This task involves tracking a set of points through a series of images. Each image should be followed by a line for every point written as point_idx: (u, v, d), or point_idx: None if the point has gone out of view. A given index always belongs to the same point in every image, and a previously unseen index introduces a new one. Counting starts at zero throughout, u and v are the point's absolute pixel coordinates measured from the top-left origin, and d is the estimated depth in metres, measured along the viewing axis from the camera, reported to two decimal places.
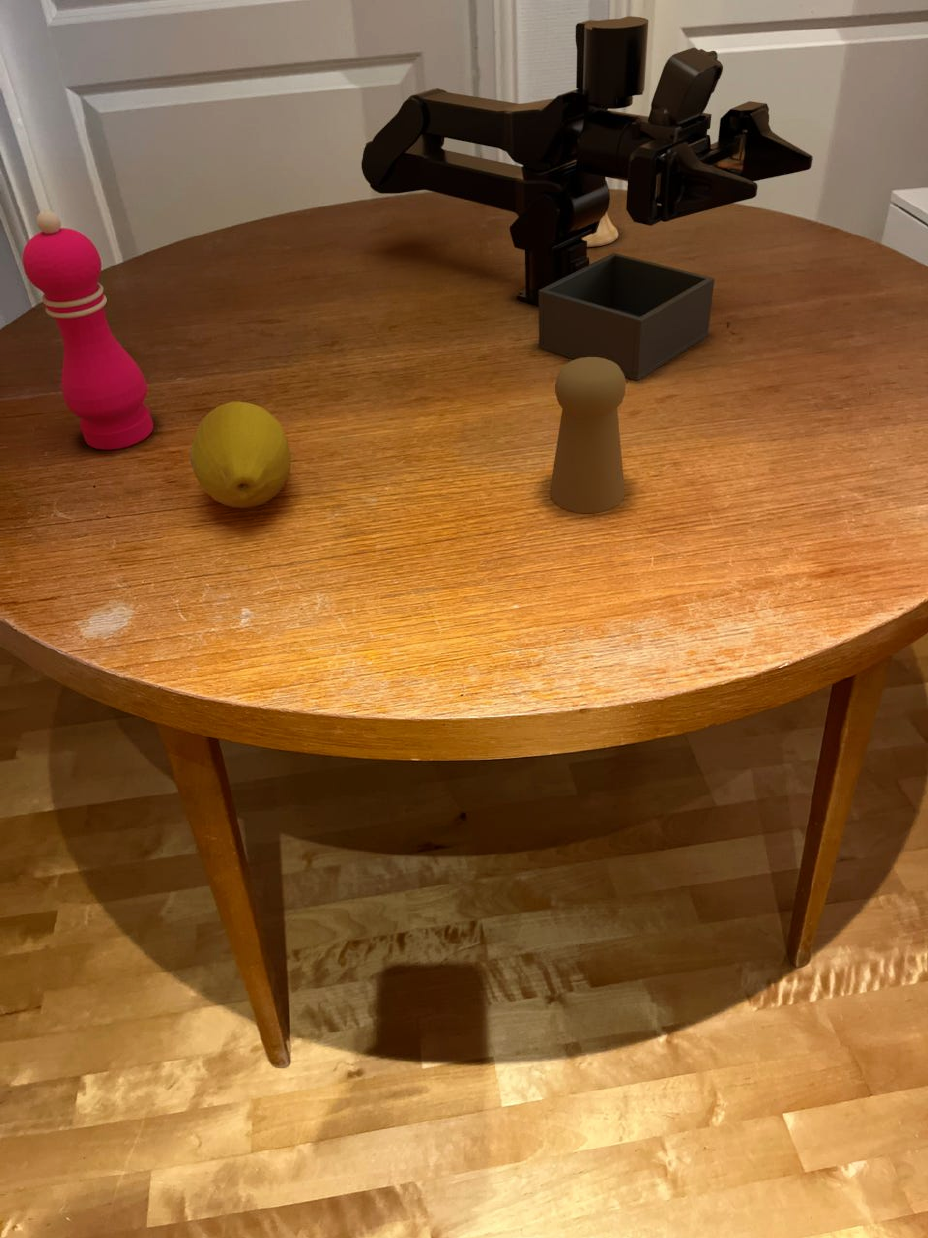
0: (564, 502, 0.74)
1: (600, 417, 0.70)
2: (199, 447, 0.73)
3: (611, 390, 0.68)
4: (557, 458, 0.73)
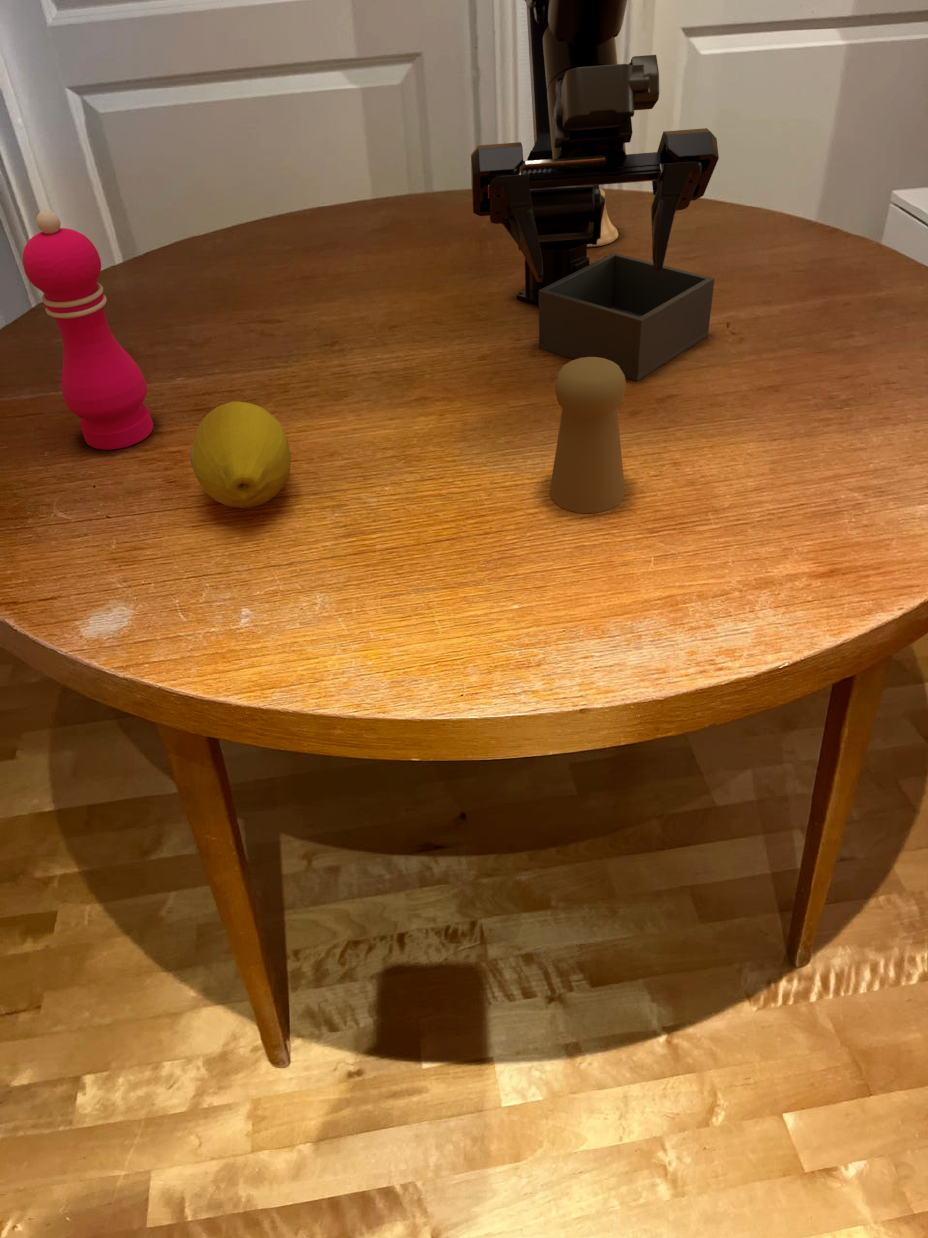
0: (564, 502, 0.74)
1: (600, 417, 0.70)
2: (199, 446, 0.73)
3: (611, 389, 0.68)
4: (557, 458, 0.73)
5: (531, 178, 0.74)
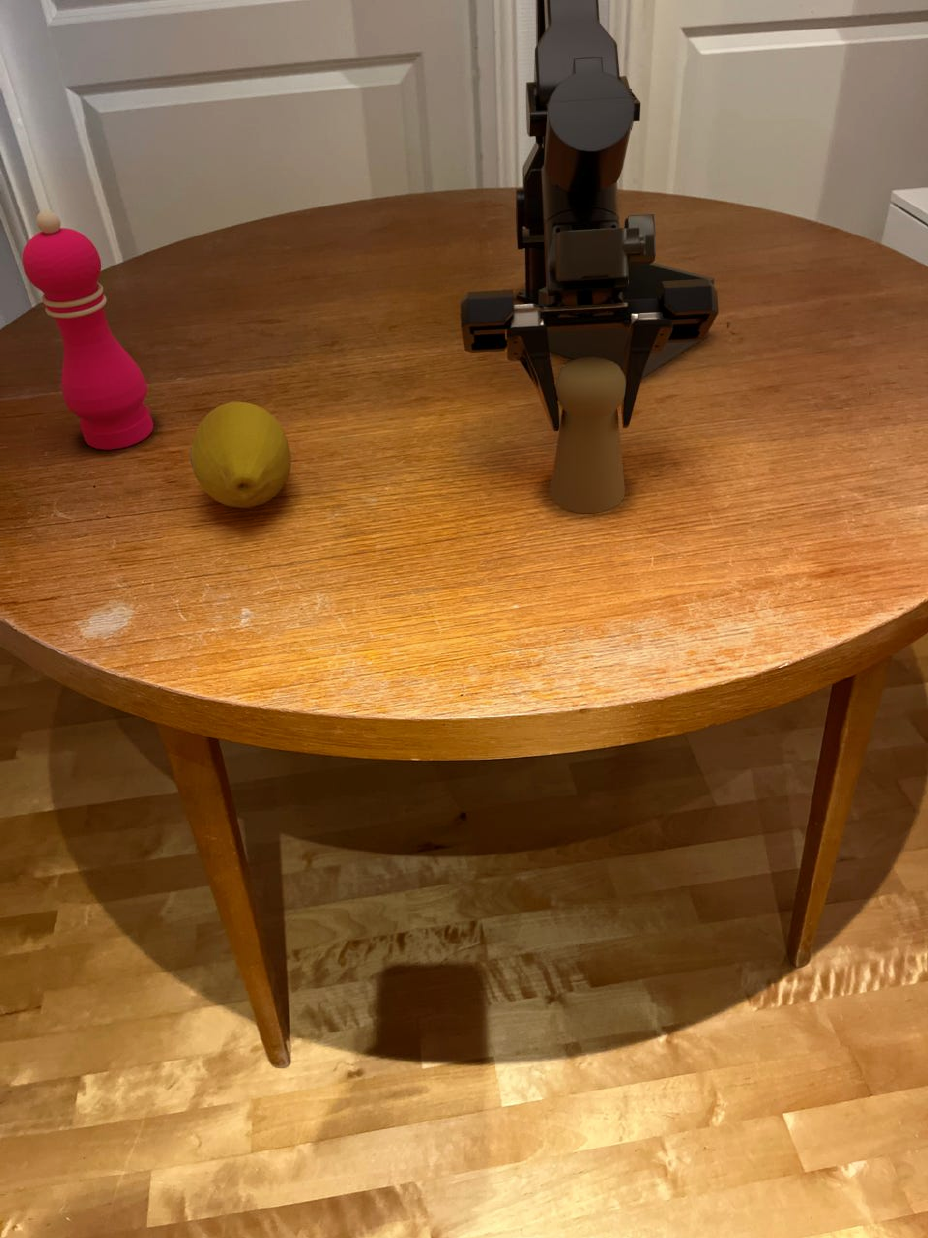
0: (564, 502, 0.74)
1: (600, 417, 0.70)
2: (199, 447, 0.73)
3: (611, 389, 0.68)
4: (557, 458, 0.73)
5: None
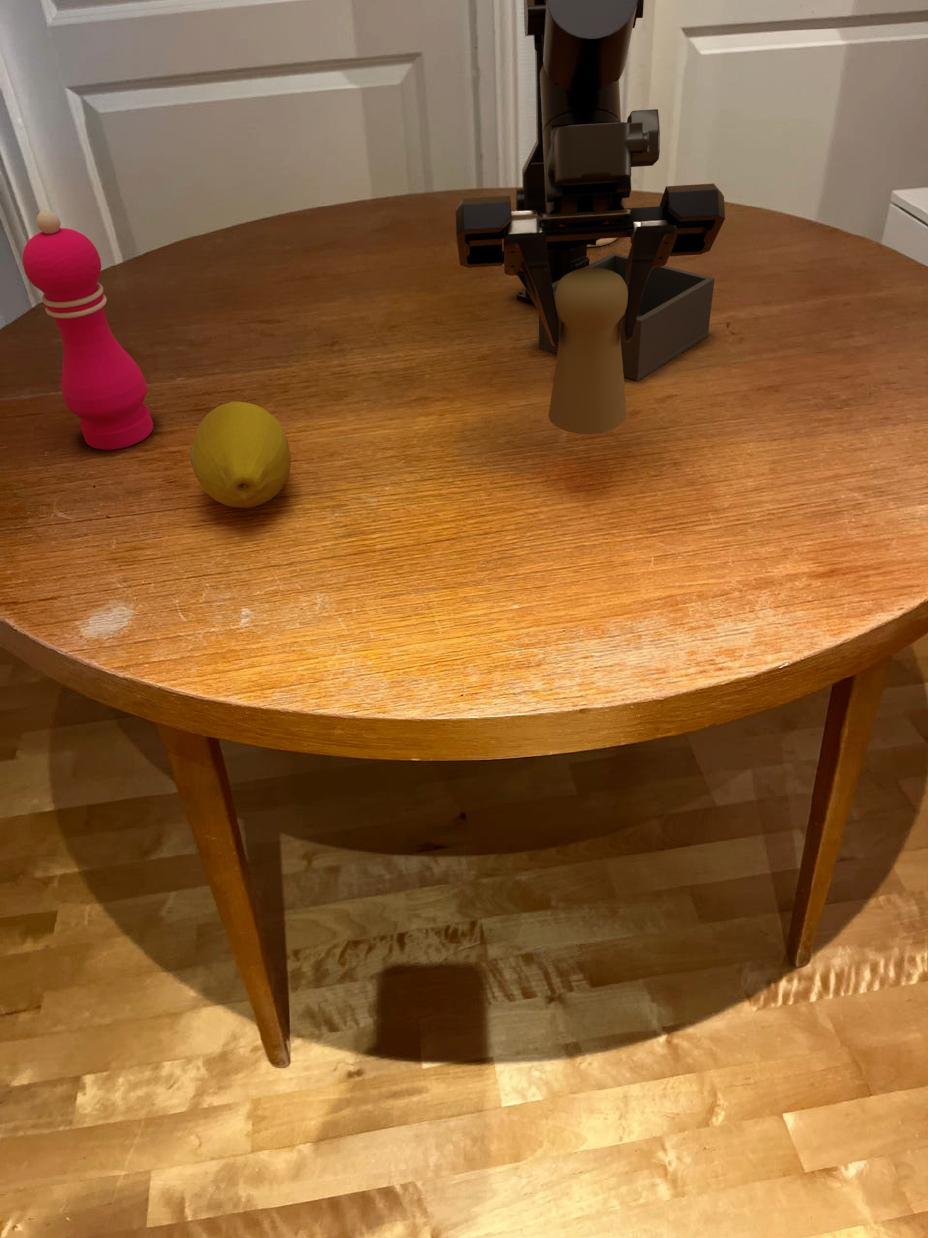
0: (564, 423, 0.71)
1: (601, 330, 0.67)
2: (199, 446, 0.73)
3: (613, 299, 0.65)
4: (556, 376, 0.71)
5: None
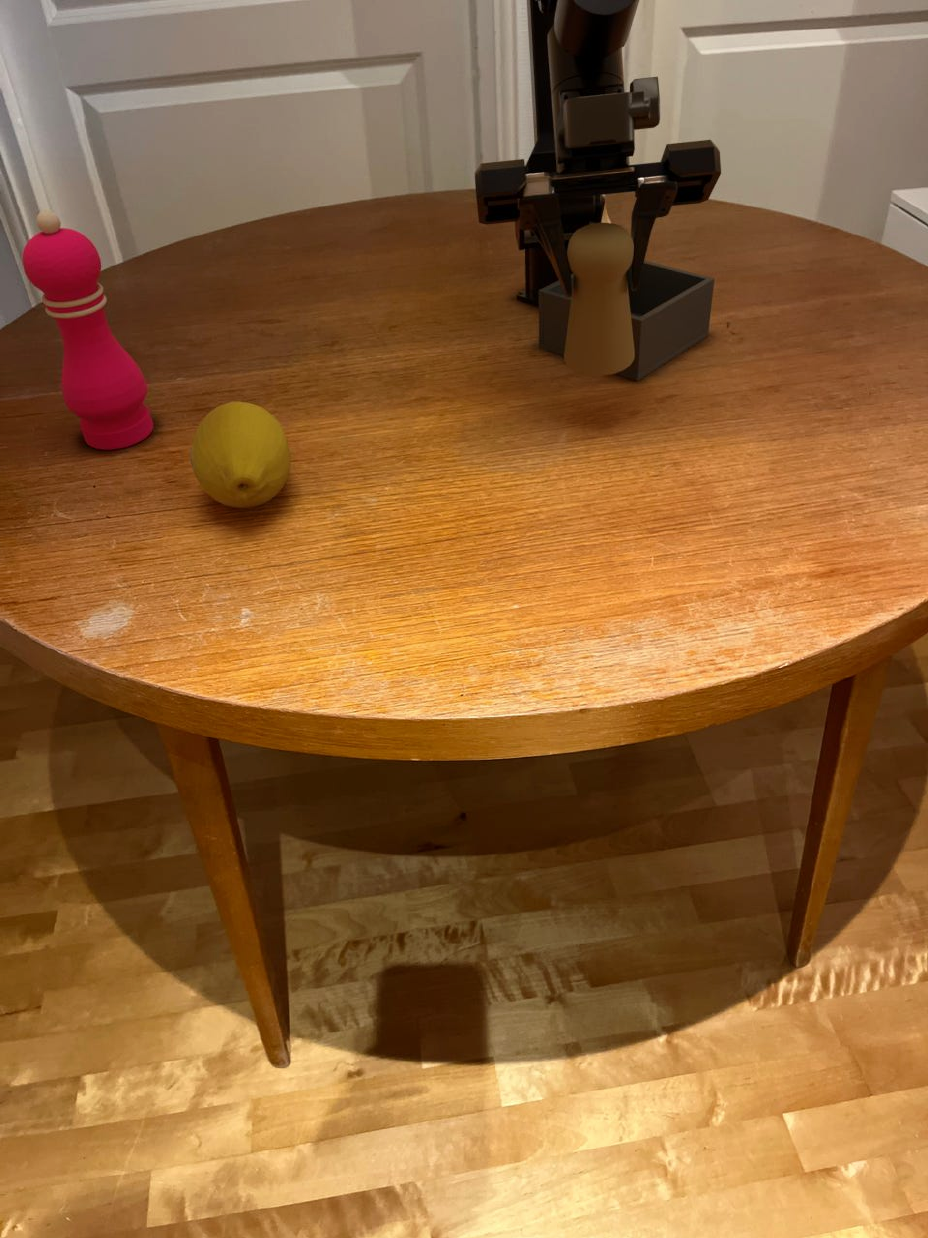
0: (578, 366, 0.79)
1: (610, 281, 0.74)
2: (199, 447, 0.73)
3: (620, 253, 0.72)
4: (570, 323, 0.78)
5: None
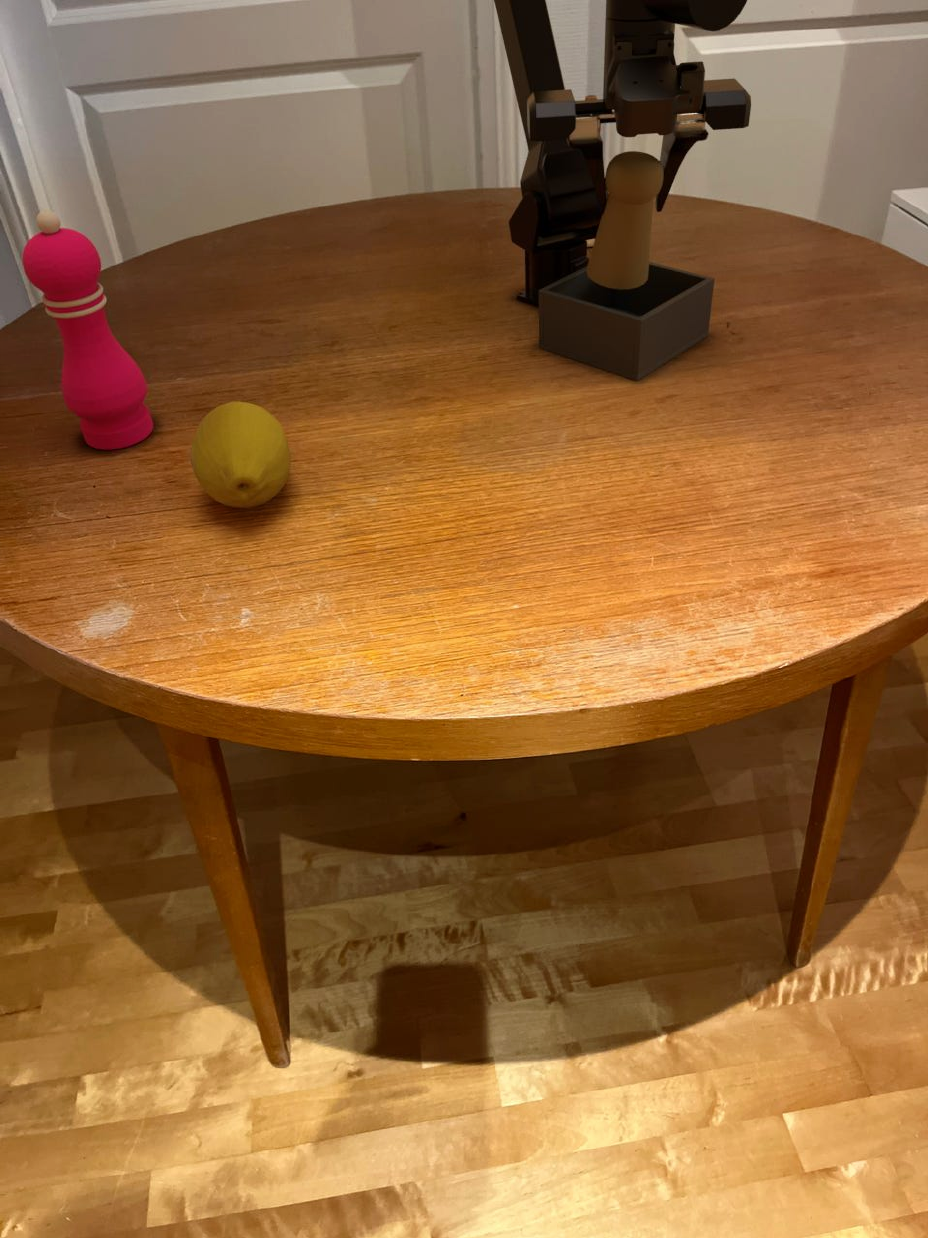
0: (599, 278, 0.90)
1: (640, 203, 0.85)
2: (199, 446, 0.73)
3: (653, 179, 0.83)
4: (598, 239, 0.89)
5: None
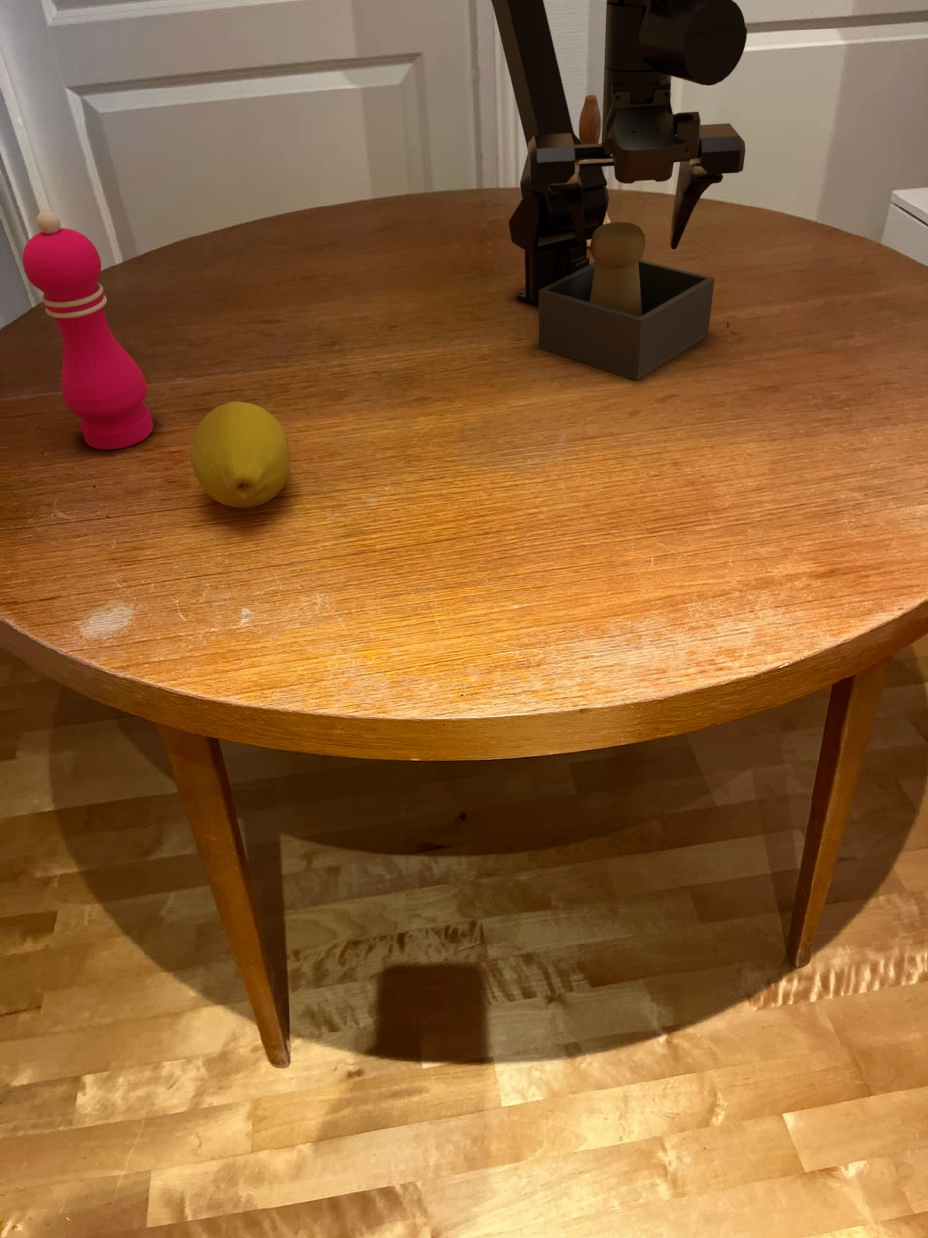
0: None
1: (625, 267, 0.90)
2: (199, 447, 0.73)
3: (634, 243, 0.88)
4: None
5: None
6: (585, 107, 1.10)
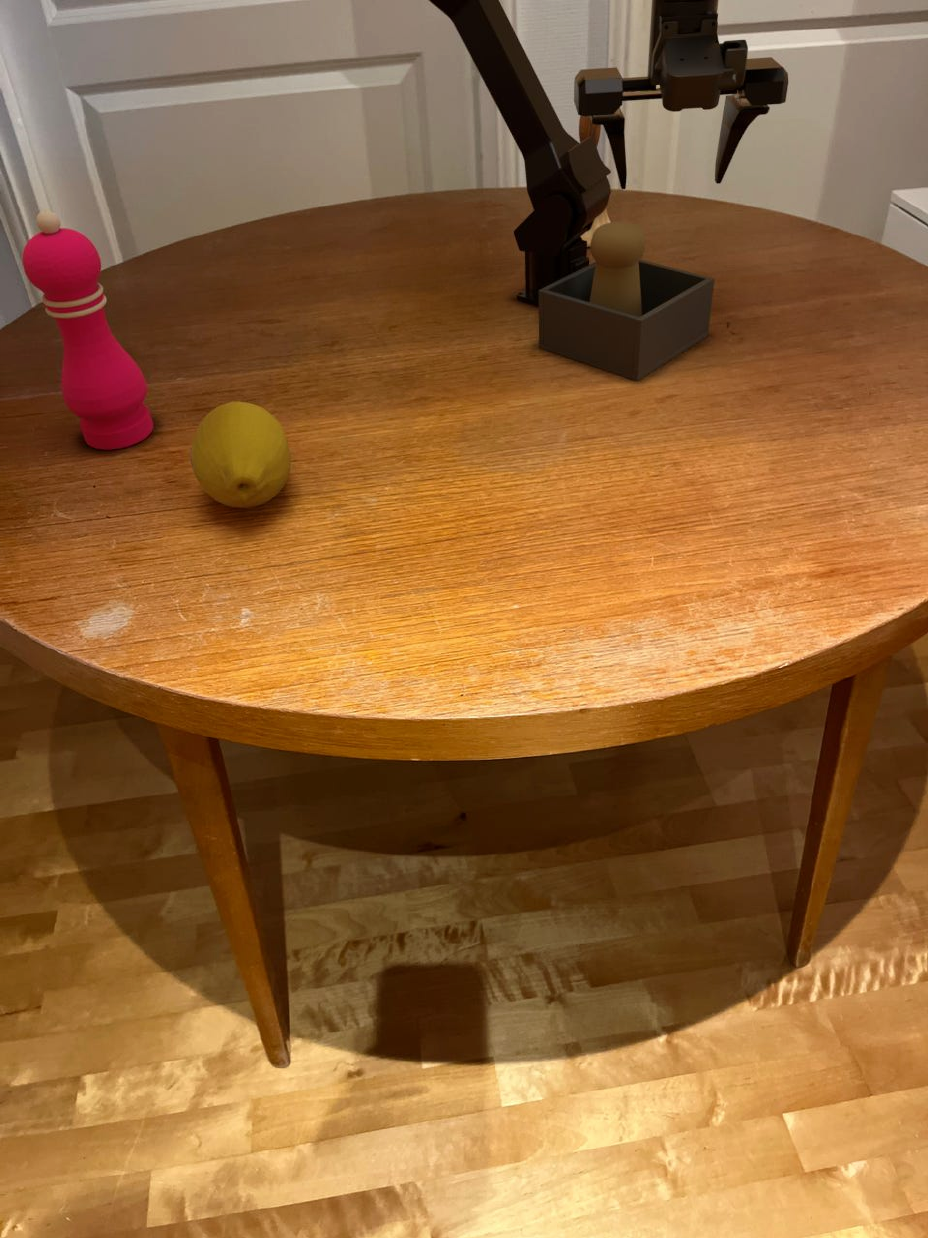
0: None
1: (625, 267, 0.90)
2: (199, 447, 0.73)
3: (634, 243, 0.88)
4: None
5: (627, 96, 0.87)
6: None
